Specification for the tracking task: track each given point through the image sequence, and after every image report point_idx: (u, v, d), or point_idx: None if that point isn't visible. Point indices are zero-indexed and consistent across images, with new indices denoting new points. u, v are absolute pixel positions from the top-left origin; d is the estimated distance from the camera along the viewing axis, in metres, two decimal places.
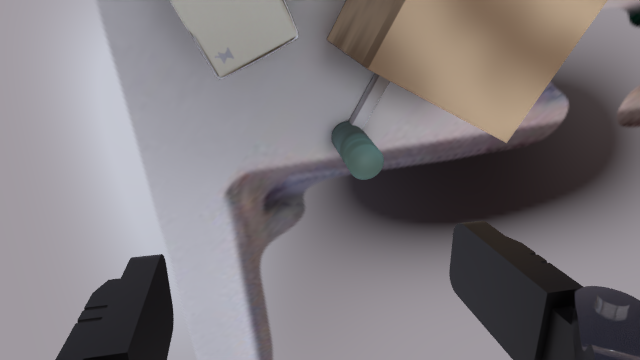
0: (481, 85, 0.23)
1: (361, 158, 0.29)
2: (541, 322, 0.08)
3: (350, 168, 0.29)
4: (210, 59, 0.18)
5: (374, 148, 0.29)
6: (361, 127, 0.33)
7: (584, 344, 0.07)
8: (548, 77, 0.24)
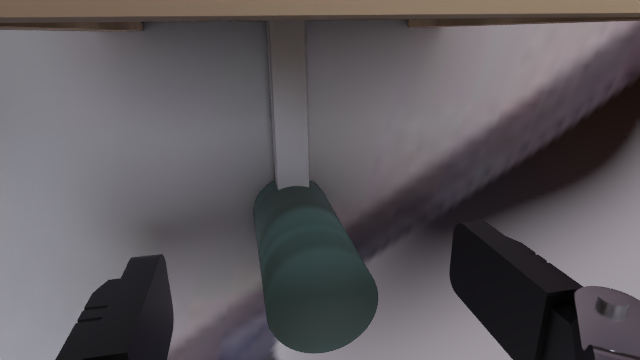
0: None
1: (300, 302, 0.09)
2: (541, 322, 0.08)
3: (286, 341, 0.09)
4: None
5: (321, 259, 0.09)
6: (303, 183, 0.13)
7: (584, 344, 0.07)
8: None
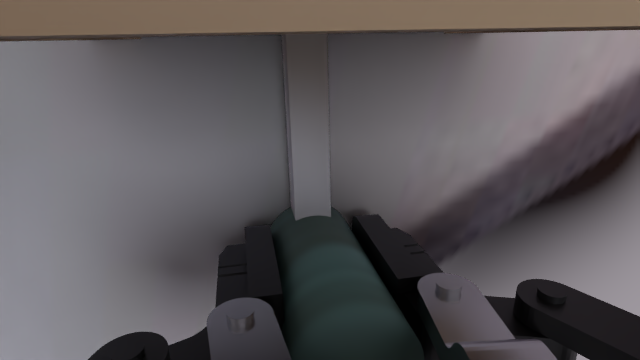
0: None
1: None
2: None
3: None
4: None
5: (357, 321, 0.07)
6: (324, 212, 0.11)
7: (444, 339, 0.07)
8: None
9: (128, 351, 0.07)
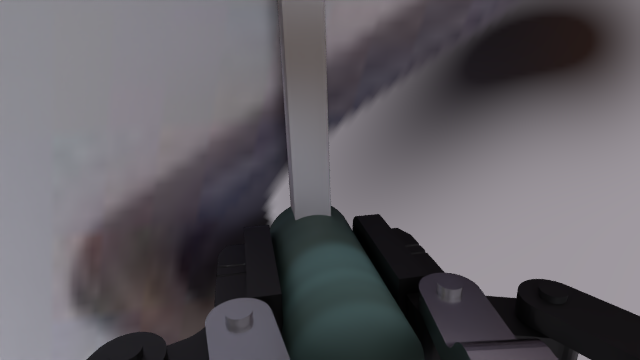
0: None
1: None
2: None
3: None
4: None
5: (356, 320, 0.07)
6: (324, 211, 0.11)
7: (445, 339, 0.07)
8: None
9: (127, 352, 0.06)
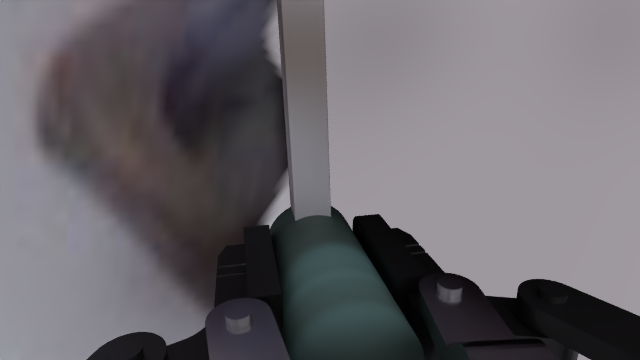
0: None
1: None
2: None
3: None
4: None
5: (356, 320, 0.07)
6: (324, 212, 0.11)
7: (446, 339, 0.07)
8: None
9: (127, 352, 0.06)
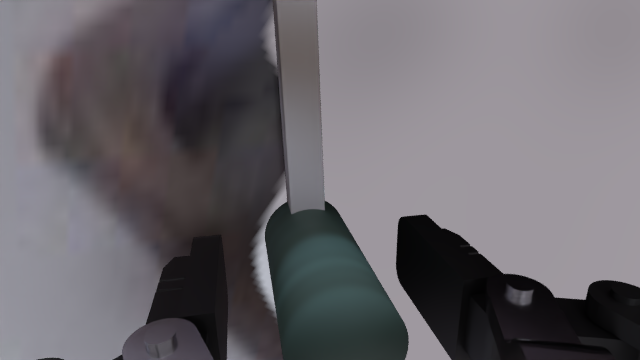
0: None
1: (322, 350, 0.08)
2: (460, 308, 0.09)
3: None
4: None
5: (344, 302, 0.08)
6: (318, 206, 0.12)
7: (505, 335, 0.07)
8: None
9: None
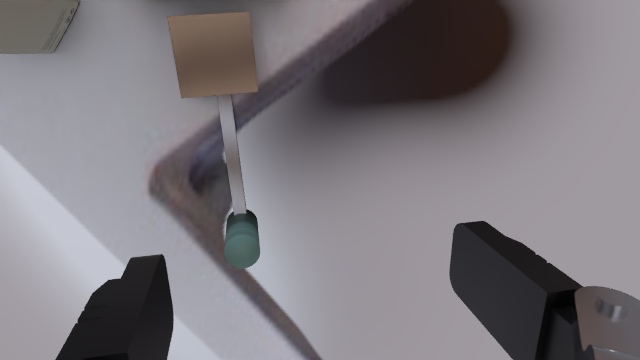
0: None
1: (234, 251, 0.30)
2: (541, 322, 0.08)
3: (231, 264, 0.31)
4: None
5: (239, 237, 0.30)
6: (243, 212, 0.34)
7: (584, 344, 0.07)
8: None
9: None
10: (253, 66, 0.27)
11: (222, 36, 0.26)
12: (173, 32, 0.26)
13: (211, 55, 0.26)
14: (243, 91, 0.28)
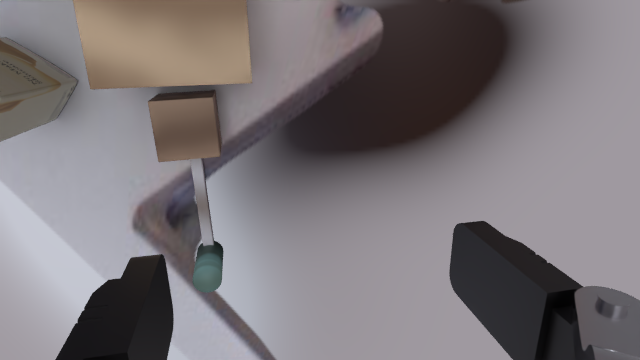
0: (191, 52, 0.27)
1: (201, 279, 0.38)
2: (541, 322, 0.08)
3: (198, 289, 0.38)
4: None
5: (205, 268, 0.38)
6: (211, 244, 0.42)
7: (584, 344, 0.07)
8: (243, 16, 0.27)
9: None
10: (216, 137, 0.35)
11: (191, 115, 0.34)
12: (152, 113, 0.33)
13: (182, 129, 0.34)
14: (208, 156, 0.35)
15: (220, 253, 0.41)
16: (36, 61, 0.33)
